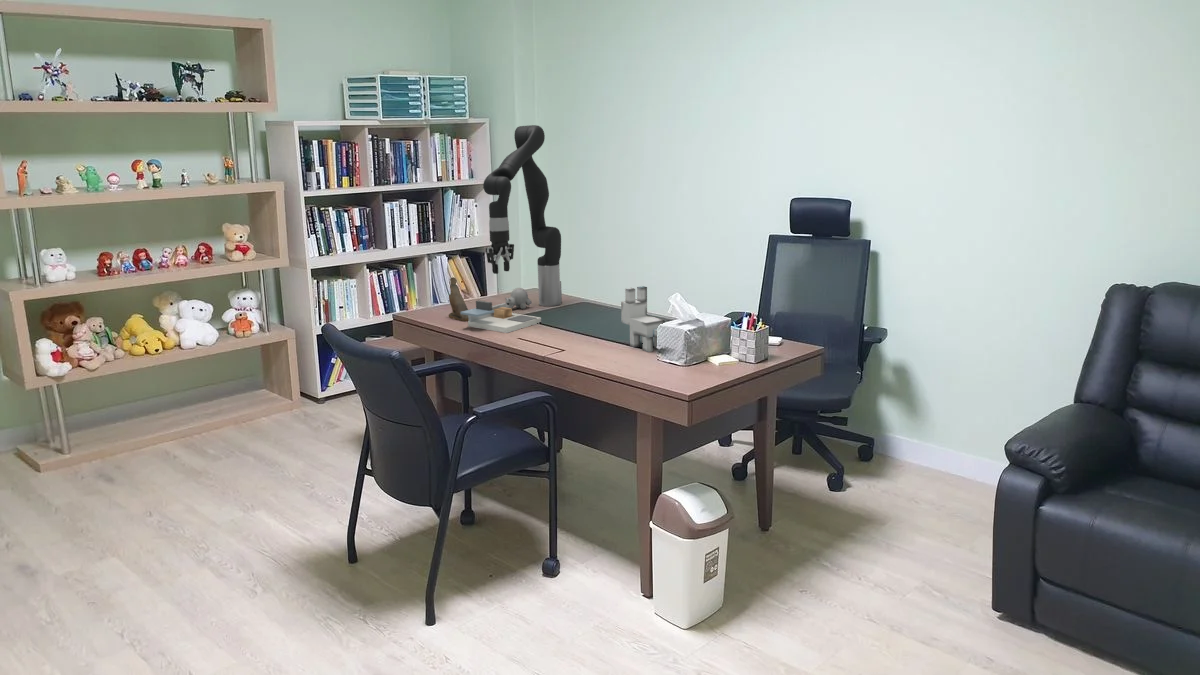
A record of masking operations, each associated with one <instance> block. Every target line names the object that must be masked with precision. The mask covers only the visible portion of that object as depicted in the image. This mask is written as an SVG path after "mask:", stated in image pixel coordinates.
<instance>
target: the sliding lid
mask: <svg viewBox="0 0 1200 675" xmlns="http://www.w3.org/2000/svg"><path fill="white" fill-rule="evenodd" d="M492 306H493V302H491V301H485V300H476V301H475V307H474V308H471V309H468V310H466V311H462V312H461V314H463V315H469V316H475V317H479V316H483V315H487V314H490V313H494V310H492Z"/></svg>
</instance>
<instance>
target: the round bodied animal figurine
mask: <svg viewBox="0 0 1200 675" xmlns="http://www.w3.org/2000/svg"><path fill="white" fill-rule="evenodd" d="M504 299H505V303H506V308H512V309H513V307H515V308H517V309H519V308H520V309H521V310H524V309H526V308H527V306H530V305H532V300H531V299H530V298H529V295H528V292H527V290H526V289H525V288H522V287H516V288H515V289H514V288H513V290H512V291H511V293H510V297H505V296H504Z"/></svg>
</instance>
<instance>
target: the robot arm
mask: <svg viewBox="0 0 1200 675" xmlns="http://www.w3.org/2000/svg"><path fill="white" fill-rule="evenodd" d="M545 138H546V137H545V132H544V129H543V127H542V126H540V125H537V124H535V125H533V124H531V125H529V124H528V125H518V126H517V127H516V128H515V130H514V142H515V148H516V149H514V150H513V151H512V152H511V153H510V154H508V155H507V156H505V158H504V159H503V161H502V162H501V163H500V165H499V166H498V167H497V168H496V169H494V170H493V171H492V172H490V173H489V174H488V175H487V176H486V177H485V179H484V180H483V185H482V186H483V187H482V188H483V191H484V192H485V194H486V195H489V196H498V198H497V200H496V201H495V200H494V201H491V202H490V203H489V204H488V208H489V209H488V213H489V214H488V215H489V221H488V222H489V223H488V228H489V230H488V232H489V242H490V243H491V245H490V247H485V254H486V259H487V261H486V262H487V263H488V264H491V270H492V273H493V274H495V275H498V274H499V264H498V263H499V260H500V258H501V257H502V260H503V271H504V272H510V262H511V260H514V251H515V244H514V243H509V241H510V224H509V222H510V221H509V213H508V212H509V211H508V207H509V201H510V196H511V192H512V183H511V181H512V180H514V178H515V177H516V176H517V174H518V173H519V171H520V169H521V171H522V174H523V175H522V176H523V180H524V182H523V183H524V188H525V192H526V197H527V201H528V202H527V203H528V209H529V213H530V216H529V217H530V223H531V224H530V226H531V236H532V242H533V244H534V245H535V246H536V247H537V248H541V249H544V254H543V255H542V256H539V257H538V258H537V283H538V284H537V285H538V286H537V288H538V305H539V306H542V307H555V306H559V305H561V304H562V303H563V298H562V297H563V296H562V281H561V276H560V275H561V272H560V269H561V268H560V260H561V256H562V236H561V235H562V234H561V232H560V229H558V227H555V226H547V225H546V220H545V219H546V218H545V211H546V207H547V204H548V201H549V198H550V197H549V196H550V191H549V184H548V180H547V177H546V176H545V174H544V173H543V171H542V170H541V168H540V167H539V166H538V165H537V163H536V162H535V160H534V158H533V155H534V154H535V153H536V152H537V151H538V150H539V149H541V147H542V146H543V145H544V143H545Z"/></svg>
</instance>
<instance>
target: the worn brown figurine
mask: <svg viewBox="0 0 1200 675" xmlns="http://www.w3.org/2000/svg"><path fill="white" fill-rule="evenodd" d="M449 281H450V286H449V290H450V293H449V295H448V301H449V305H450V307H451V308H450V309H451V310H452V311H451V312H450V313H449V314H448V318H450V319H452V320H453V319H454V320H456V321H459V322H468V321H469V317H468V315H463V314H461V312H462V311H466V310H469V309H468V307H467V305H466V301H465V299H464V297H463V295H462V294H461V291H460V288H459V286H458V285H457V282H458V280H457V278H456V277H451V278H450V279H449Z"/></svg>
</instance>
